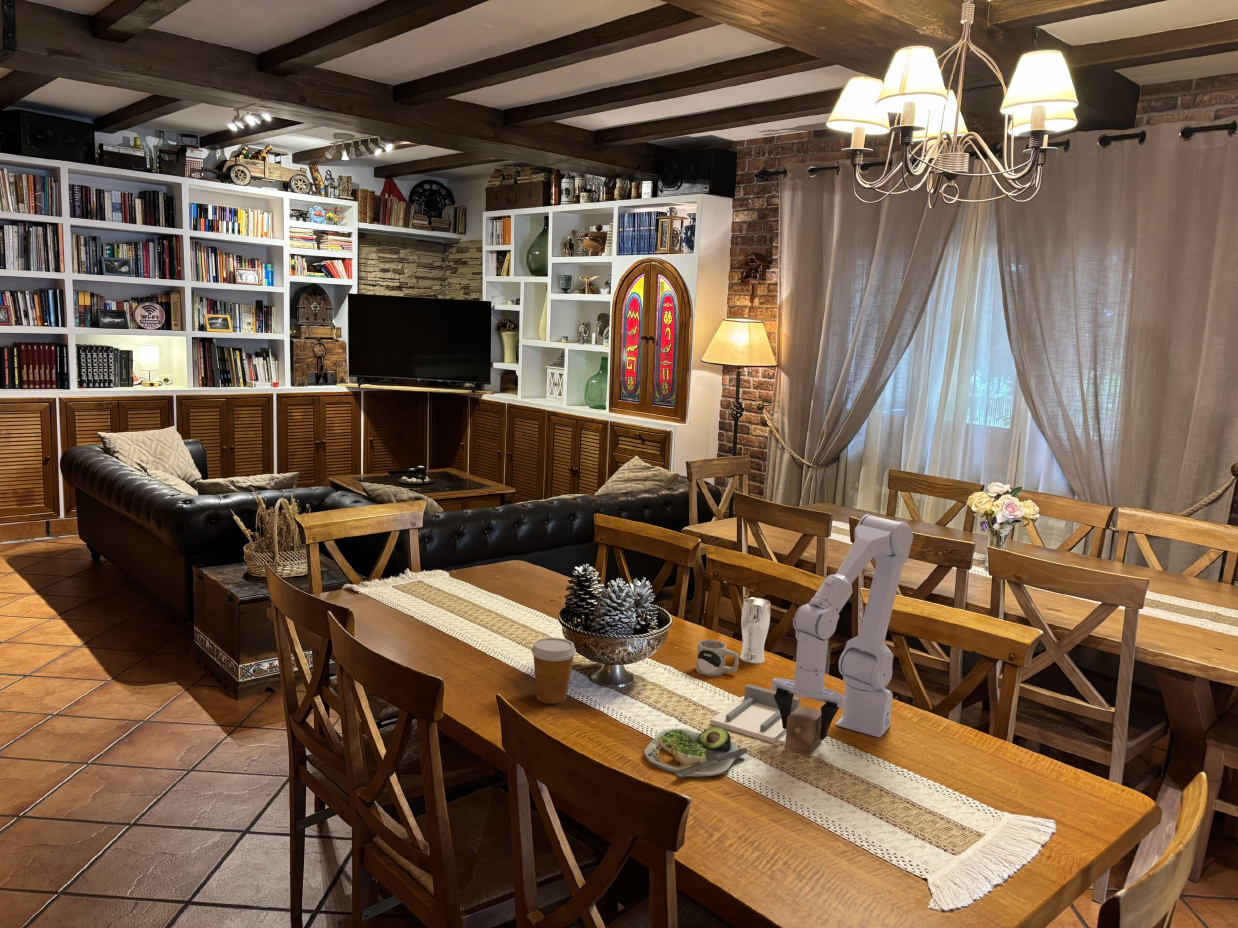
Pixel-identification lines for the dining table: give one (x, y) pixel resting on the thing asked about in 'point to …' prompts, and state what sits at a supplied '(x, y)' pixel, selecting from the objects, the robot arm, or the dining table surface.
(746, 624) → the beer glass
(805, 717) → the cabinet block
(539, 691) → the disposable coffee cup
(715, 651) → the mug
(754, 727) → the cleat board
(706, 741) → the avocado toast plate
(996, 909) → the dining table surface
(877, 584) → the robot arm
